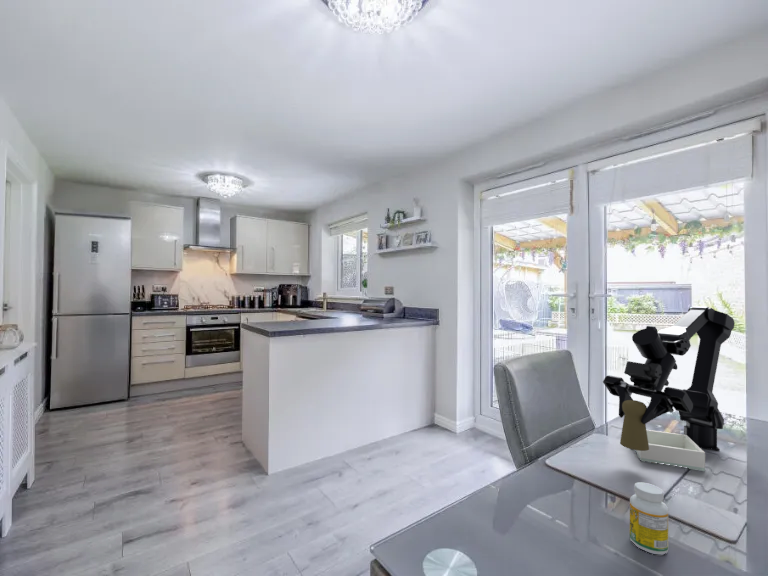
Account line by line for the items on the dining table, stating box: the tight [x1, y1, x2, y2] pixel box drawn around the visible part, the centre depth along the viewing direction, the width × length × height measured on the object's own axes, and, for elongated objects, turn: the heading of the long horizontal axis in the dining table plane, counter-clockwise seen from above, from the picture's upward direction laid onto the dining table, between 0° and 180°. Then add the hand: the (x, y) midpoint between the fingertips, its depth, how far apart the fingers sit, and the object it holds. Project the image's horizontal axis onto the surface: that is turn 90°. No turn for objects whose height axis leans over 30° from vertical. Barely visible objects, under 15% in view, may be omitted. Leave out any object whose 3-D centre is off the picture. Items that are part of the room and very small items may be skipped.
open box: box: [635, 429, 706, 472], centre depth 100 cm, size 13×13×4 cm
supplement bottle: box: [629, 481, 669, 554], centre depth 63 cm, size 5×5×10 cm
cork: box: [619, 399, 649, 451], centre depth 93 cm, size 6×6×11 cm
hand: (631, 419), depth 92 cm, fingers closed on cork, 5 cm apart
